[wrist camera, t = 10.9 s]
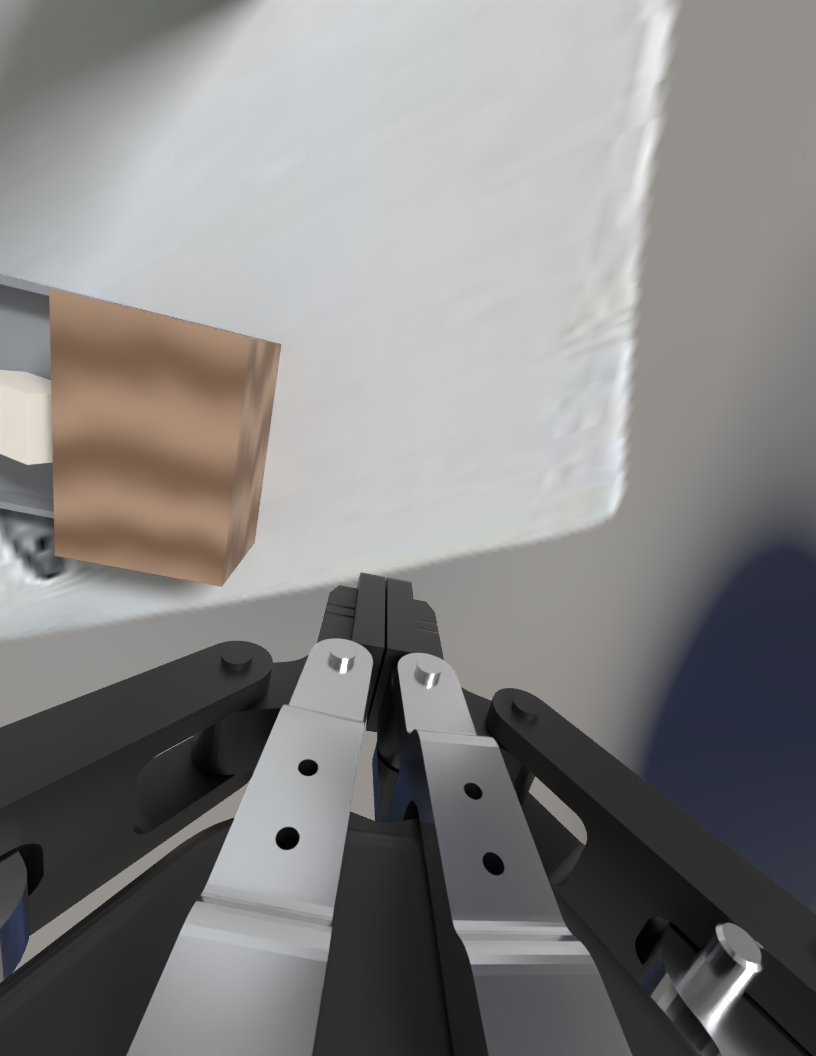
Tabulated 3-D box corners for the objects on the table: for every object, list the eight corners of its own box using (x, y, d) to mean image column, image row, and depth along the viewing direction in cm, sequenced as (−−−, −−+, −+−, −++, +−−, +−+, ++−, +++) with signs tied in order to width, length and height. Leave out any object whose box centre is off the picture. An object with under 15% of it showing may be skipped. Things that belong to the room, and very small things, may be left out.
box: (-87, 252, 34) (-129, 242, 31) (122, 304, 36) (99, 299, 33) (-63, 480, 40) (-97, 489, 37) (116, 515, 42) (96, 526, 39)
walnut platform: (128, 306, 36) (49, 288, 28) (281, 344, 37) (249, 338, 29) (122, 516, 42) (54, 555, 33) (254, 542, 43) (221, 586, 35)
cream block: (96, 395, 35) (25, 371, 37) (25, 393, 30) (-52, 366, 32) (94, 458, 37) (27, 432, 38) (27, 464, 32) (-46, 435, 34)
